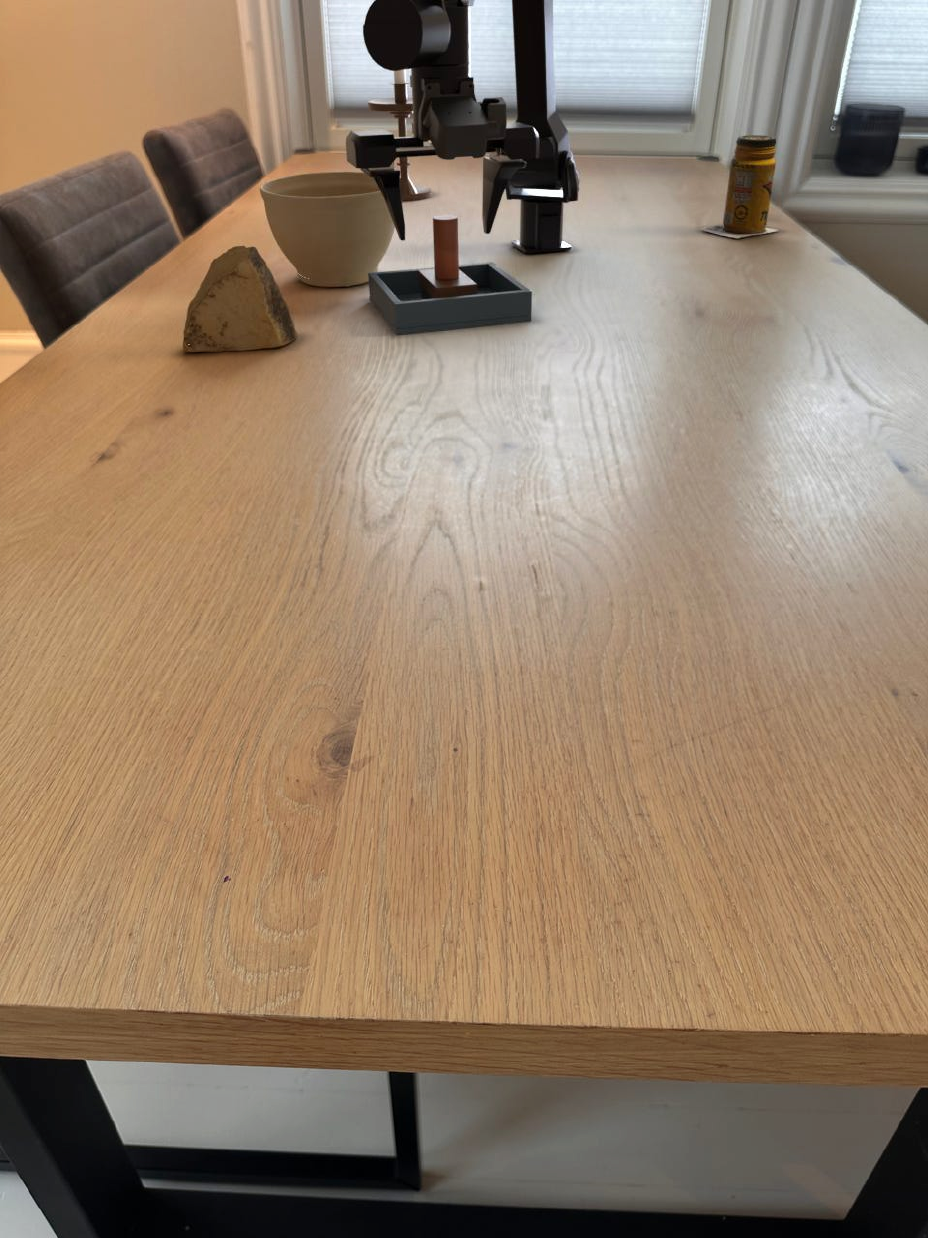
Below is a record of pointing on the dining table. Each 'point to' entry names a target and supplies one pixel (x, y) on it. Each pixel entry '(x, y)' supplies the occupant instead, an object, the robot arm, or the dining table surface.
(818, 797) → the dining table surface
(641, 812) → the dining table surface
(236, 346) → the rock
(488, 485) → the dining table surface
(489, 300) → the tray
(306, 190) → the planter bowl
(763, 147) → the condiment
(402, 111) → the candlestick
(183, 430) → the dining table surface
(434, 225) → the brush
